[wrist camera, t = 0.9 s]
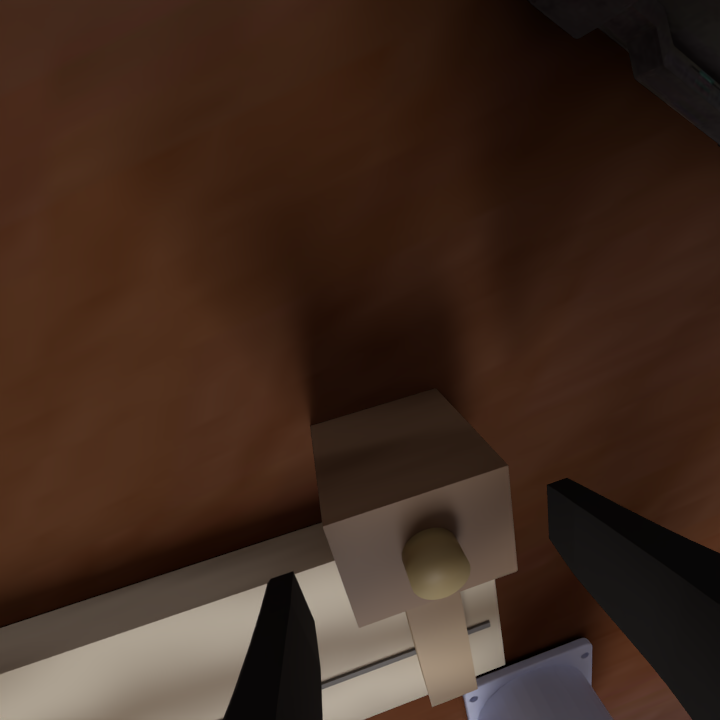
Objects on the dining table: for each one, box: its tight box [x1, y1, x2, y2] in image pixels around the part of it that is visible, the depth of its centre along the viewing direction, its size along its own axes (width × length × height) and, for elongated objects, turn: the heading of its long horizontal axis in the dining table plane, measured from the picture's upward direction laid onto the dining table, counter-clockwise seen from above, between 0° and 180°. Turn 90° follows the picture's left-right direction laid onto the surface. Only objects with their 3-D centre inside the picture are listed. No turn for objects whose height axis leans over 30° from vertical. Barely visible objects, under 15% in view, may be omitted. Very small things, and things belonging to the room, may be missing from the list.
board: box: [0, 523, 505, 720], centre depth 16 cm, size 10×20×2 cm, turn 103°
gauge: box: [310, 388, 518, 707], centre depth 13 cm, size 12×5×6 cm, turn 13°
